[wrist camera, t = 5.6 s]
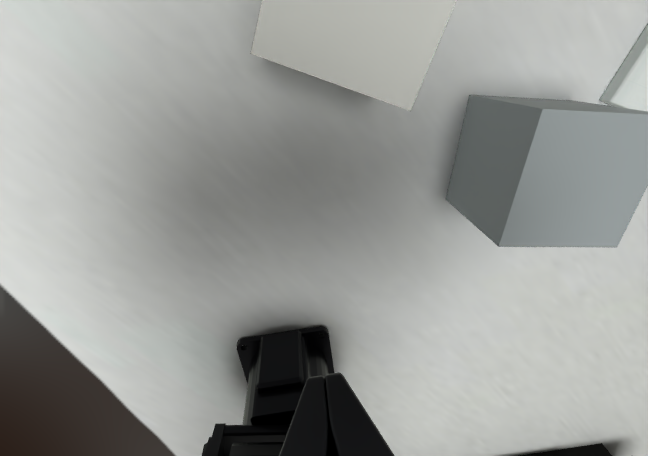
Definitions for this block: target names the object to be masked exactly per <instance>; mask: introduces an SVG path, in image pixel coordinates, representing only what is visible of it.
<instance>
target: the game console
mask: <svg viewBox="0 0 648 456" xmlns="http://www.w3.org/2000/svg"><path fill="white" fill-rule="evenodd" d="M520 456H612V455H611V454H610V453H609V451H608V450H607V449H606V448H605V446H604V445H603V444H602V443H601V444H594V445H587V446H581V447H574V448H567V449H560V450H554V451H547V452H540V453H533V454H527V455H520Z"/></svg>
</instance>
